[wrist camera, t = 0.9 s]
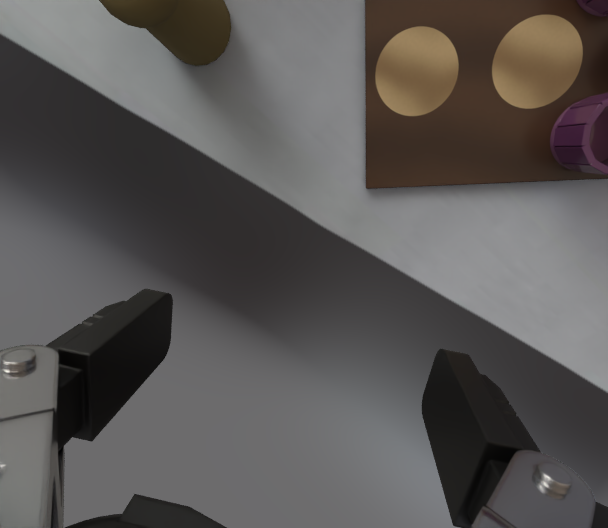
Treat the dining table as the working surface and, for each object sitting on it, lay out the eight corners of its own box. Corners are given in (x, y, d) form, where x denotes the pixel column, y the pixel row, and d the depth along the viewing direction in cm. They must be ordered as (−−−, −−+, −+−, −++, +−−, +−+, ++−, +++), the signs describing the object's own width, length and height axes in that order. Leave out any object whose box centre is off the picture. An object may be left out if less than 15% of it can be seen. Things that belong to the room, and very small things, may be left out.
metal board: (365, -53, 28) (365, -58, 27) (757, -101, 25) (767, -108, 24) (365, 188, 33) (366, 188, 32) (688, 174, 30) (695, 174, 29)
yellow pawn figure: (244, 37, 31) (191, -20, 20) (189, 80, 32) (112, 47, 22) (203, -35, 29) (123, -136, 19) (147, 13, 31) (45, -56, 20)
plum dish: (555, 99, 29) (590, 91, 25) (633, 94, 28) (683, 84, 24) (545, 172, 30) (576, 176, 26) (618, 169, 30) (663, 172, 26)
